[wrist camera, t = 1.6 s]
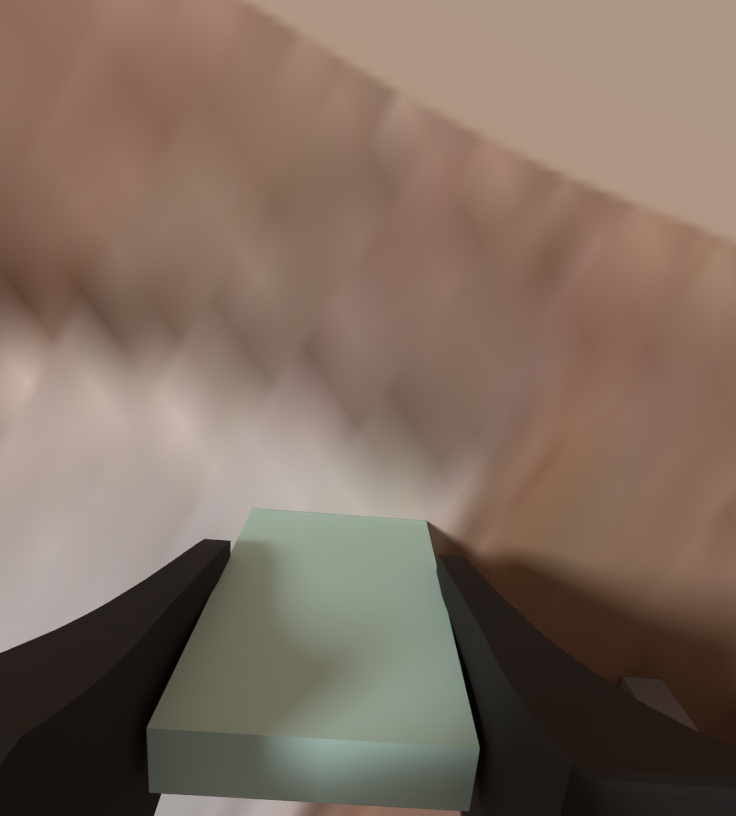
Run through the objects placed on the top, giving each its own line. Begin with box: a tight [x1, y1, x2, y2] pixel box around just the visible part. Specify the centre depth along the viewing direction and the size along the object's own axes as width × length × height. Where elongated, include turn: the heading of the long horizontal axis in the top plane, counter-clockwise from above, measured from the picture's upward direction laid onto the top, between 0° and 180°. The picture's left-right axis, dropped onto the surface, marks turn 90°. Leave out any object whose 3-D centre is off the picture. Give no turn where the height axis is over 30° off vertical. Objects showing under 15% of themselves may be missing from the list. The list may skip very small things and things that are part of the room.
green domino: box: [146, 509, 480, 811], centre depth 11 cm, size 1×5×7 cm, turn 86°
